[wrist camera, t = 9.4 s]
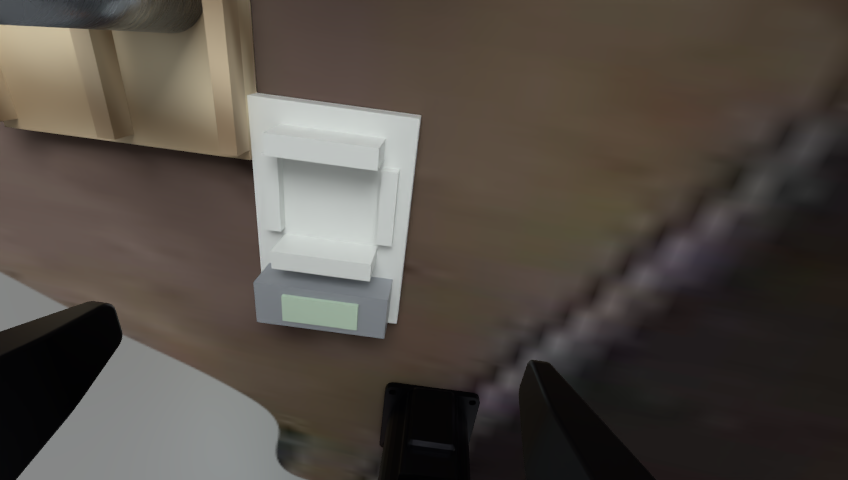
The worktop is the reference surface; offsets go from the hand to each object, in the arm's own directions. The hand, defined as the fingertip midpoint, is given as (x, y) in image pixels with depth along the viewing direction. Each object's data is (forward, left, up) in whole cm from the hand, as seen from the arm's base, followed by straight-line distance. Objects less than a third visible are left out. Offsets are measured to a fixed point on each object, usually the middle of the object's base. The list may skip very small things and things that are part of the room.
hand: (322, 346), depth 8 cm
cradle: (-3, +3, -13) cm, 14 cm away
